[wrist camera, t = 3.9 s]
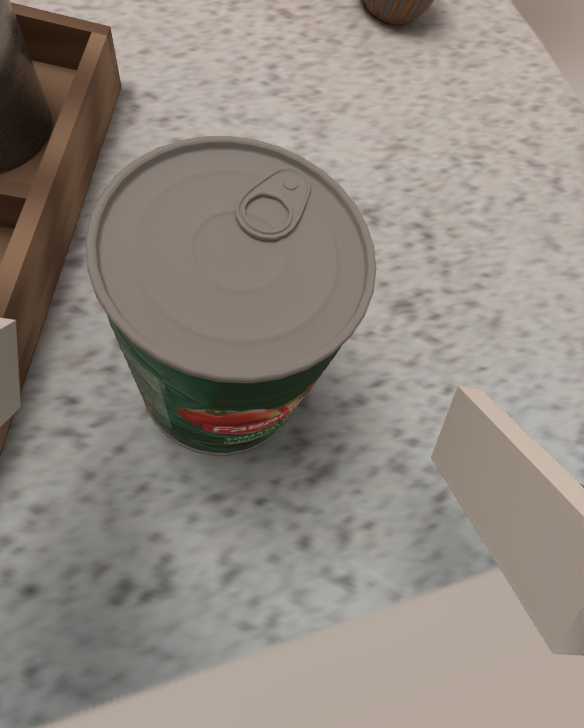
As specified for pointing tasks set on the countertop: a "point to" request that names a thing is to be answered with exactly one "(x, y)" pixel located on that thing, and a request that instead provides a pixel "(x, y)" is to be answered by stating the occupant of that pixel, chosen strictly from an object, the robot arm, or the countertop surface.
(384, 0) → the vase
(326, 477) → the countertop surface
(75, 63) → the wooden divided tray
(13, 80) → the seated cylinder
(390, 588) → the countertop surface
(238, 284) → the canned tomato
